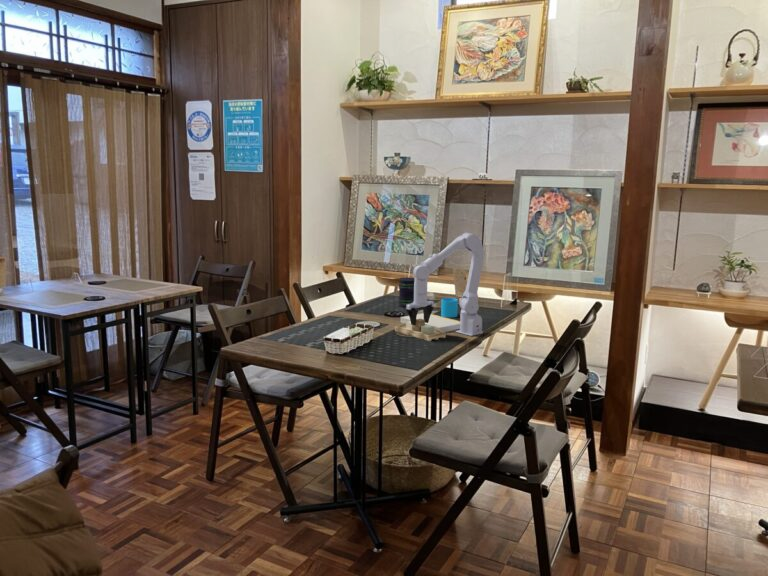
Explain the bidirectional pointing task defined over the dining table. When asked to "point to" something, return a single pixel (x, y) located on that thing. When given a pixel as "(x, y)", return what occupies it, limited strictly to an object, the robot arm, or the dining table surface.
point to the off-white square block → (410, 326)
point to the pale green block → (427, 329)
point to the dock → (437, 322)
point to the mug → (449, 307)
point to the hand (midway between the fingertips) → (419, 323)
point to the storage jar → (406, 291)
